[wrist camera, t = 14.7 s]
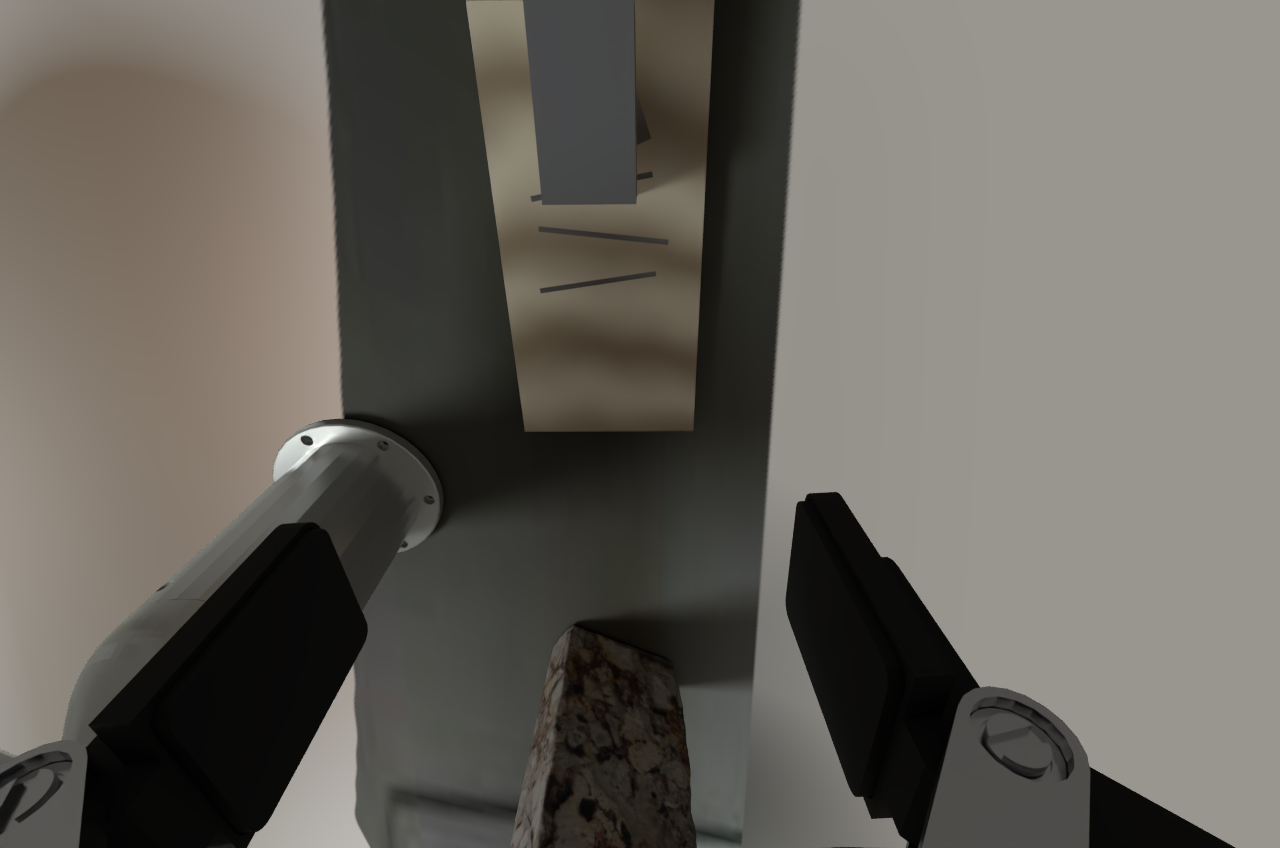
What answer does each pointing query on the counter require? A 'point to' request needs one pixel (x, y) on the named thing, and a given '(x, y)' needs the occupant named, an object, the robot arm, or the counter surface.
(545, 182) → the sanding sponge
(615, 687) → the stone block
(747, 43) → the counter surface
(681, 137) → the birch board
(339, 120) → the counter surface
